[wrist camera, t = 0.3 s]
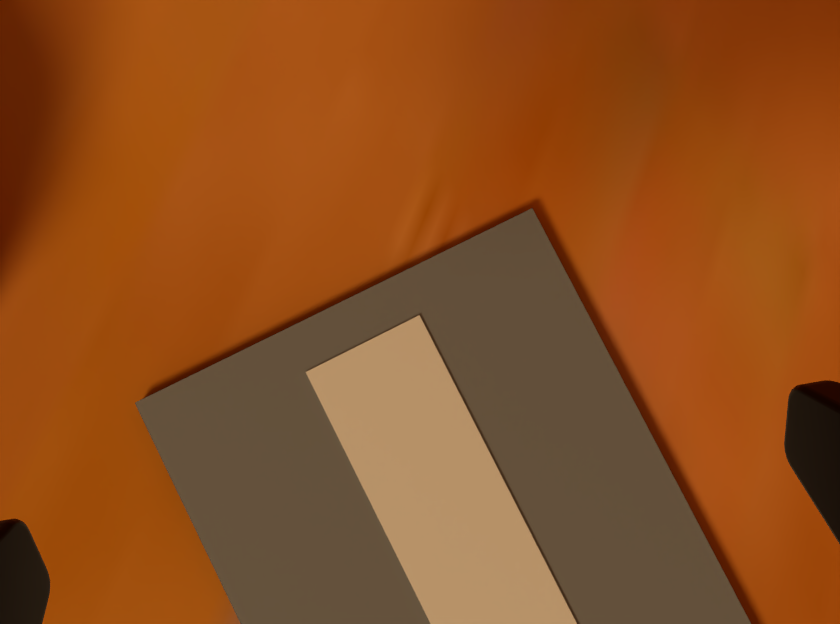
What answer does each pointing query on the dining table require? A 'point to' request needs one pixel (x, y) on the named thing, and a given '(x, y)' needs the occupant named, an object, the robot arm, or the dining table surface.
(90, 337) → the dining table surface
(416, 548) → the mat
